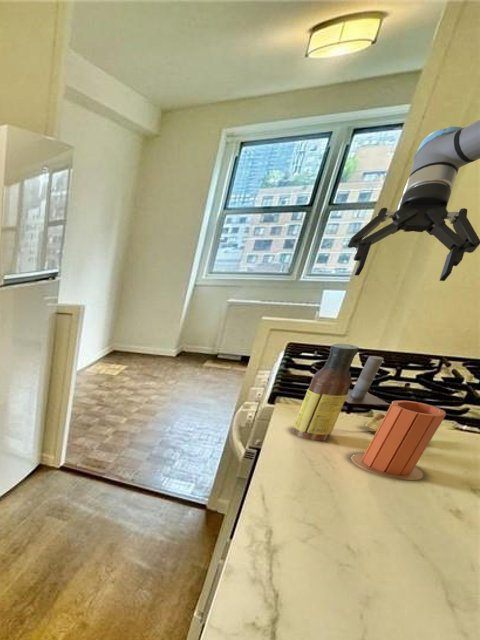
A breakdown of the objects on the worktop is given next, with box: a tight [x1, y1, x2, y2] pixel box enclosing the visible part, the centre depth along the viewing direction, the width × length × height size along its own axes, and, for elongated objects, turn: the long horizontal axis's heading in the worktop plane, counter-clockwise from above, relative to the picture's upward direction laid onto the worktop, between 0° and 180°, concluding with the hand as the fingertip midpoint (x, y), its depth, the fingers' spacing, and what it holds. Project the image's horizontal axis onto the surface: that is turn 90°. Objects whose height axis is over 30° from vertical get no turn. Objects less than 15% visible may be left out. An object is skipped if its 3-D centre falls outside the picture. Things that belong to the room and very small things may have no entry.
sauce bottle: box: [293, 343, 360, 442], centre depth 100 cm, size 6×6×20 cm
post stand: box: [345, 355, 391, 406], centre depth 117 cm, size 9×9×12 cm
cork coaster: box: [350, 452, 424, 481], centre depth 92 cm, size 10×10×1 cm
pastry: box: [365, 413, 386, 435], centre depth 102 cm, size 9×7×4 cm
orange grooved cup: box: [362, 400, 447, 475], centre depth 89 cm, size 7×7×12 cm
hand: (400, 274), depth 105 cm, fingers open, 13 cm apart
